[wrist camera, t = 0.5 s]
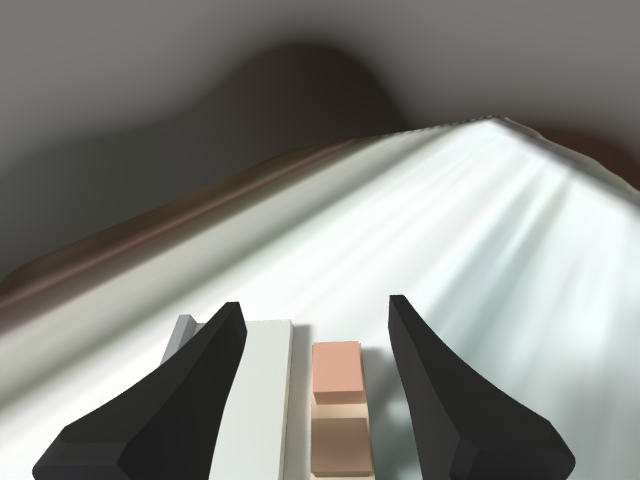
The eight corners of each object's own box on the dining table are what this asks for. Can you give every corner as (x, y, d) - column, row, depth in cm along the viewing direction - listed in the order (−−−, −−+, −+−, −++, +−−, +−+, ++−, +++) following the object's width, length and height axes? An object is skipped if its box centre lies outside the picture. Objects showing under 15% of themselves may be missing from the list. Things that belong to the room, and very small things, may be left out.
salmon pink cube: (361, 403, 25) (363, 390, 22) (317, 405, 25) (312, 391, 22) (357, 358, 27) (358, 341, 25) (317, 359, 28) (313, 342, 25)
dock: (265, 724, 16) (246, 771, 13) (64, 716, 16) (4, 759, 13) (293, 328, 33) (287, 310, 30) (194, 331, 33) (179, 314, 30)
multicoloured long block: (388, 634, 18) (404, 682, 13) (311, 632, 18) (296, 679, 13) (360, 353, 30) (362, 322, 25) (314, 354, 31) (307, 324, 26)
